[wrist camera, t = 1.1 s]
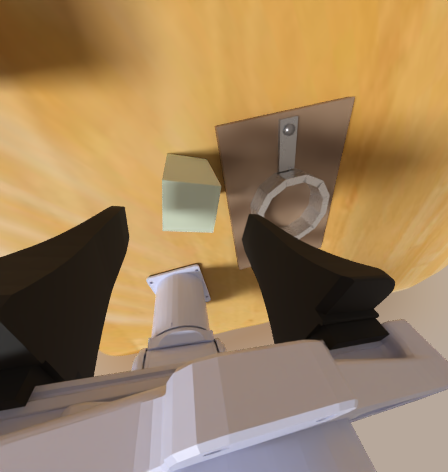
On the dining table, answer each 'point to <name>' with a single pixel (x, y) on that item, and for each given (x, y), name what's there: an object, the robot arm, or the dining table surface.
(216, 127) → the cup bracket
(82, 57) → the dining table surface
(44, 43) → the dining table surface
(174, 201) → the sage peg
